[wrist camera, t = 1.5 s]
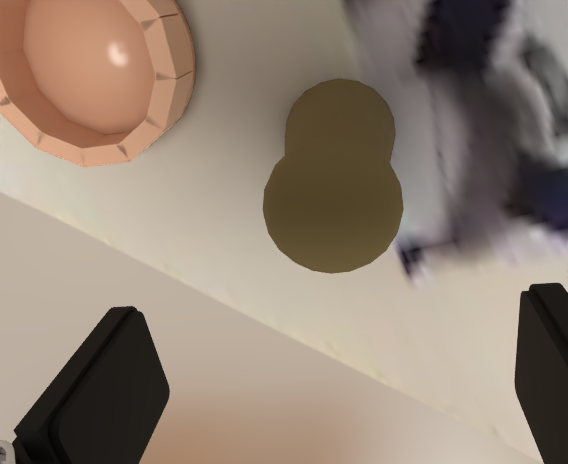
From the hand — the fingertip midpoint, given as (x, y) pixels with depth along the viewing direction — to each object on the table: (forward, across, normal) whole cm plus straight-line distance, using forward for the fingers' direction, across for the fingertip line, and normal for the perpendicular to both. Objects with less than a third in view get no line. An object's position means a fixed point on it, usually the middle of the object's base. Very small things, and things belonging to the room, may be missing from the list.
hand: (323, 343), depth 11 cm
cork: (+16, 0, -1) cm, 17 cm away
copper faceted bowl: (+16, +12, -7) cm, 21 cm away
